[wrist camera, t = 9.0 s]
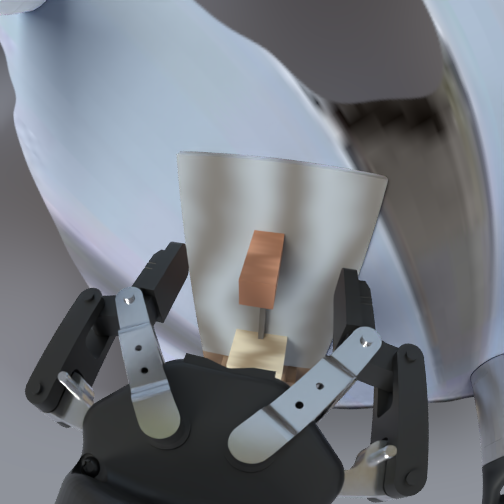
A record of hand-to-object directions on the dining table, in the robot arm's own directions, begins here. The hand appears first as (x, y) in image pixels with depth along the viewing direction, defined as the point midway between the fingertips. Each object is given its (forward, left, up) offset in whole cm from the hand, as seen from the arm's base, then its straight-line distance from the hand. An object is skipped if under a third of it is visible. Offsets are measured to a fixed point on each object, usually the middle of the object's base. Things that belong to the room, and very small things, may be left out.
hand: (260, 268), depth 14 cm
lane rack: (0, +17, -10) cm, 20 cm away
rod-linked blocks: (0, +14, -9) cm, 16 cm away
